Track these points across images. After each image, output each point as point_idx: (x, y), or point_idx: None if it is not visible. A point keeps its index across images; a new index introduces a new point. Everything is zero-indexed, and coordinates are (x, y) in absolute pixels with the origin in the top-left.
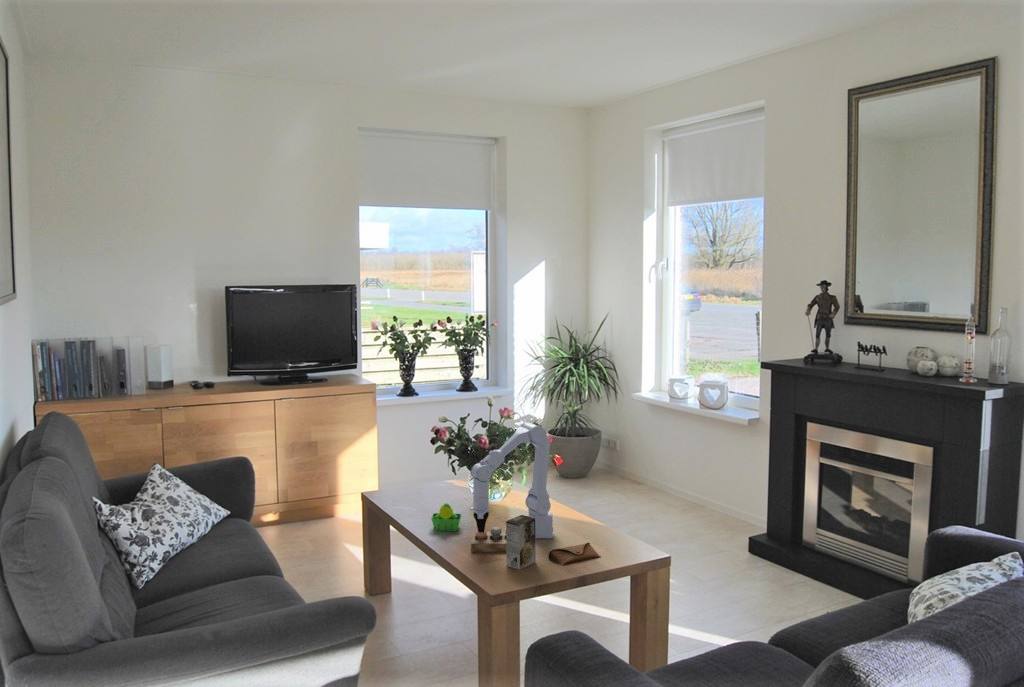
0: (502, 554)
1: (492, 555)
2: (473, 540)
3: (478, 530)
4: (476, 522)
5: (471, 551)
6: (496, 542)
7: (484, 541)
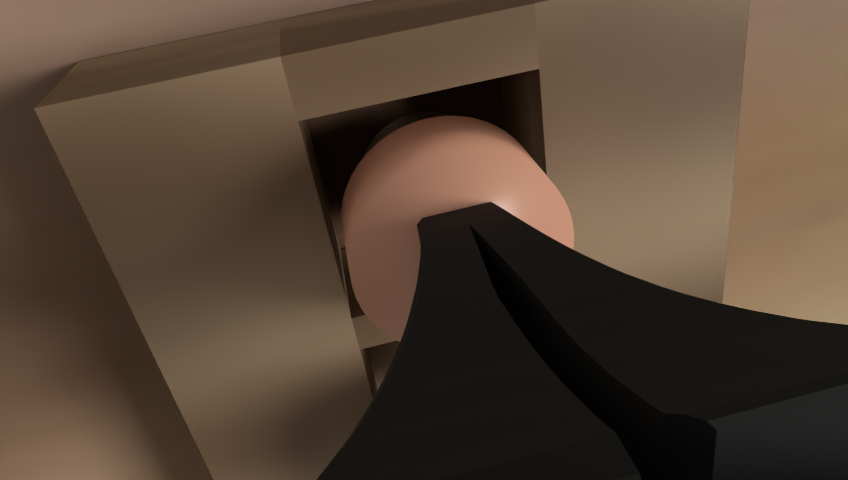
0: (141, 466)
1: (53, 384)
2: (240, 106)
3: (423, 240)
4: (399, 352)
5: (80, 66)
6: (253, 461)
7: (245, 304)
